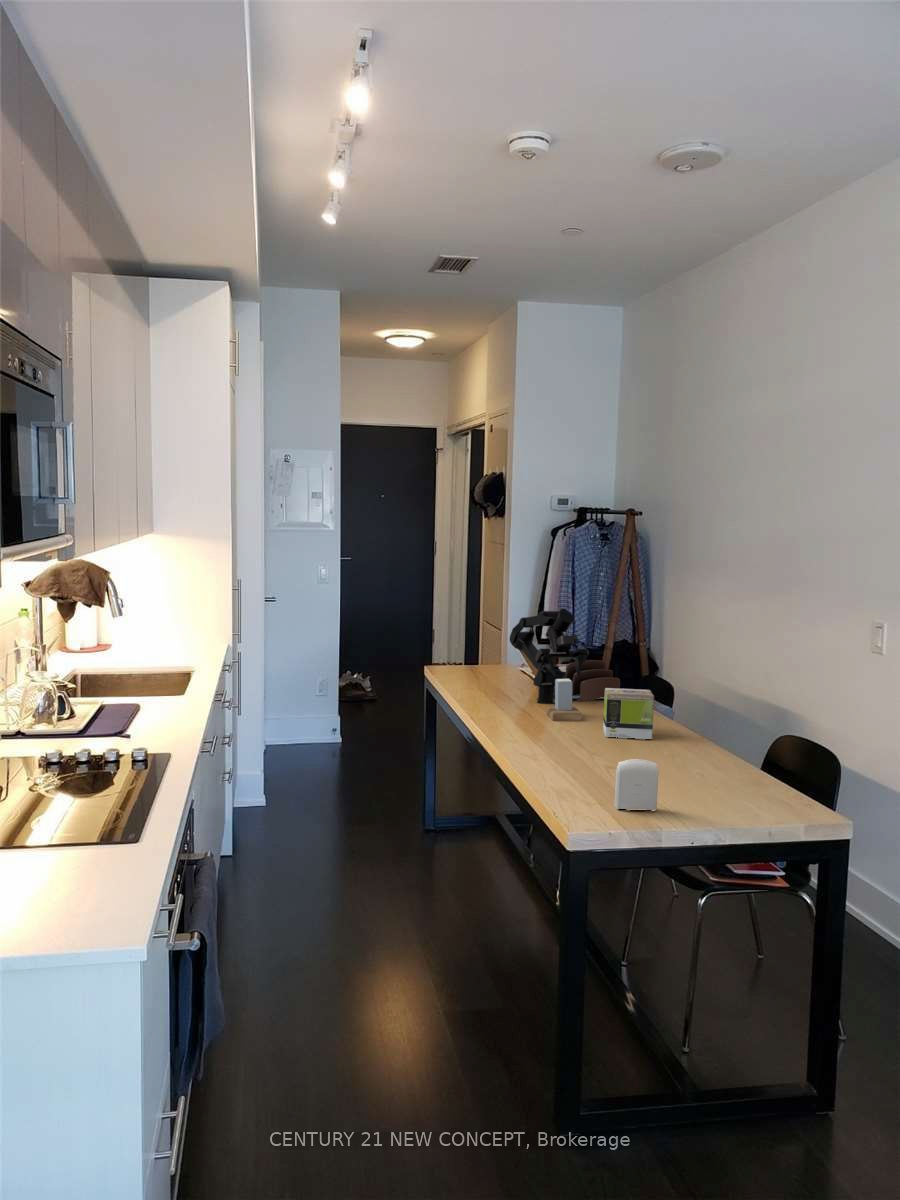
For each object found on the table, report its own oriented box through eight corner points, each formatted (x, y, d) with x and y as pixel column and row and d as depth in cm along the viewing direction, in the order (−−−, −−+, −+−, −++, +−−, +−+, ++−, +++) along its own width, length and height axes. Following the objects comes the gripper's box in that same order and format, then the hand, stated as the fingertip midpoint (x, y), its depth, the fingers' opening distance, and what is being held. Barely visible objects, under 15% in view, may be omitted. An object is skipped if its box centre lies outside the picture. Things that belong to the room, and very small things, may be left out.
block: (546, 715, 313) (546, 705, 312) (573, 715, 314) (574, 706, 314) (552, 722, 303) (553, 712, 303) (581, 722, 304) (581, 712, 304)
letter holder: (563, 697, 343) (565, 661, 342) (602, 693, 354) (604, 658, 352) (580, 702, 335) (582, 665, 333) (619, 698, 345) (622, 662, 344)
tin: (555, 707, 310) (555, 678, 309) (569, 707, 311) (569, 678, 309) (557, 710, 306) (558, 681, 305) (572, 709, 307) (572, 680, 305)
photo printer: (615, 811, 215) (618, 761, 213) (612, 805, 219) (615, 756, 217) (658, 813, 214) (661, 763, 213) (654, 807, 218) (657, 758, 217)
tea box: (648, 733, 292) (651, 689, 290) (652, 741, 282) (655, 695, 280) (602, 730, 293) (604, 686, 292) (604, 738, 283) (607, 692, 282)
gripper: (539, 626, 315) (549, 662, 305) (588, 626, 320) (599, 662, 310) (531, 644, 323) (540, 680, 314) (578, 644, 328) (589, 679, 319)
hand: (567, 675), depth 314 cm, fingers open, 9 cm apart
